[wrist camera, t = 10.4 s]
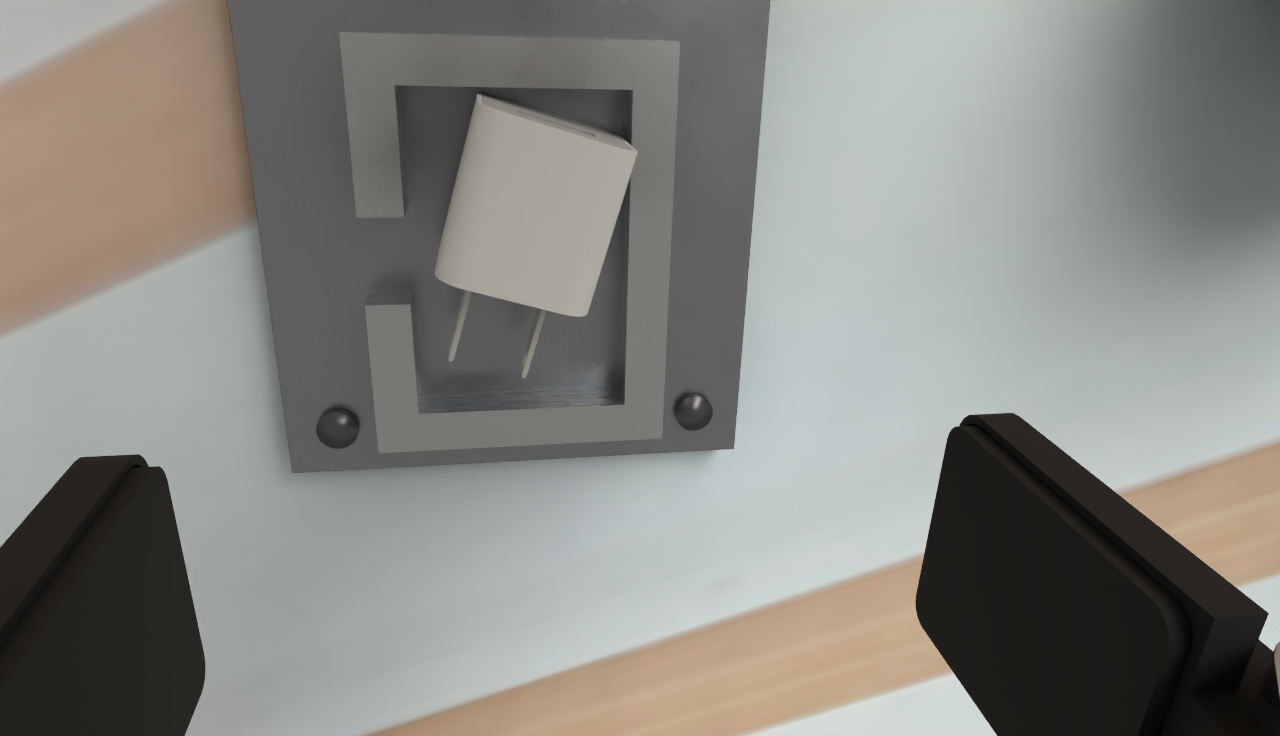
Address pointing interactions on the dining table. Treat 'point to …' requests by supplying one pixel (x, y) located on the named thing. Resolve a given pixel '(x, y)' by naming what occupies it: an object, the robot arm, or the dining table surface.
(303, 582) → the dining table surface
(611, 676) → the dining table surface
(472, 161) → the usb wall charger
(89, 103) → the dining table surface
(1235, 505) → the dining table surface
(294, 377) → the plate
